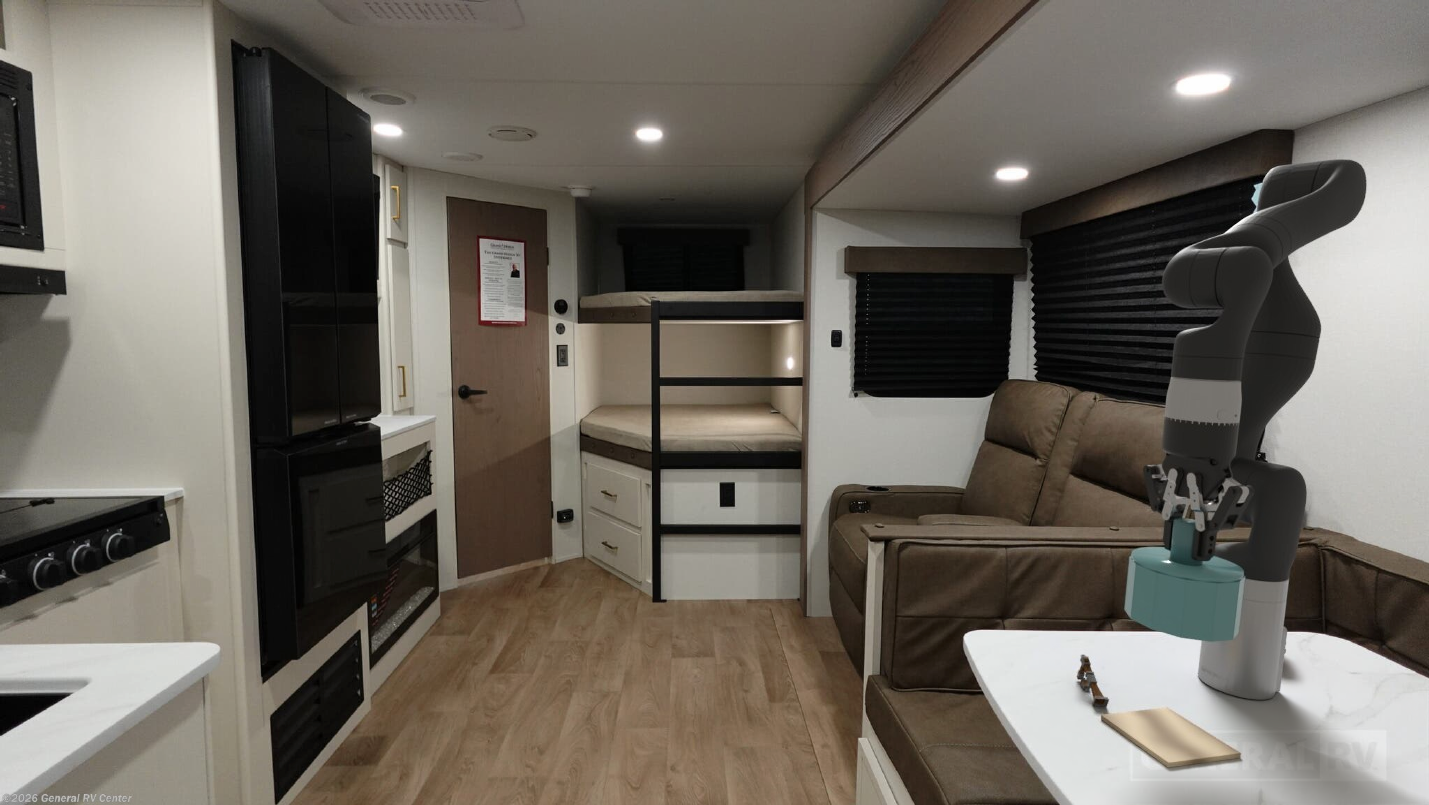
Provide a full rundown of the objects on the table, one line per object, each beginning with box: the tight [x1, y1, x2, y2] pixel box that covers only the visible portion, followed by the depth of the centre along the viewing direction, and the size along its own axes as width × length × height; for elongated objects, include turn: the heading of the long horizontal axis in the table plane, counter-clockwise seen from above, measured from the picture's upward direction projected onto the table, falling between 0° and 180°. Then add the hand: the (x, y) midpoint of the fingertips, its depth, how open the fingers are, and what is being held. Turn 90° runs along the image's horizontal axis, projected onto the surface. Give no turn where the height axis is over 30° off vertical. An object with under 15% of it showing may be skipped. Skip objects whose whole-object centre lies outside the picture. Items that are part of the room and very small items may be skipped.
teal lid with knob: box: [1123, 517, 1246, 642], centre depth 89 cm, size 12×12×13 cm
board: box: [1100, 707, 1242, 768], centre depth 91 cm, size 11×11×1 cm
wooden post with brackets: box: [1076, 653, 1110, 708], centre depth 102 cm, size 2×8×4 cm, turn 173°
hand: (1186, 554), depth 89 cm, fingers closed on teal lid with knob, 3 cm apart
